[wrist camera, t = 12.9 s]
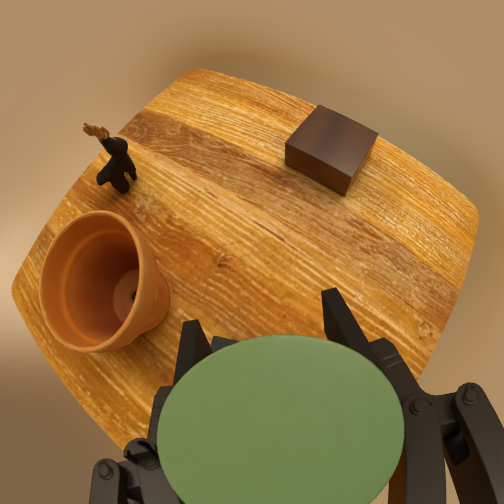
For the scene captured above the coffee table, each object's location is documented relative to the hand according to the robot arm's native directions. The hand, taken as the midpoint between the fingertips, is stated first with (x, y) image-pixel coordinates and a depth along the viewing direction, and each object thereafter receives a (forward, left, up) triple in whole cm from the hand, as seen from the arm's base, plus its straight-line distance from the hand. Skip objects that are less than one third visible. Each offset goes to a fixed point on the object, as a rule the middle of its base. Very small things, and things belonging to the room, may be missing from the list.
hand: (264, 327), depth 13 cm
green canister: (-1, +3, -2) cm, 4 cm away
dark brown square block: (-4, -26, -19) cm, 33 cm away
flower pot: (+18, 0, -20) cm, 27 cm away
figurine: (+28, -18, -20) cm, 39 cm away
